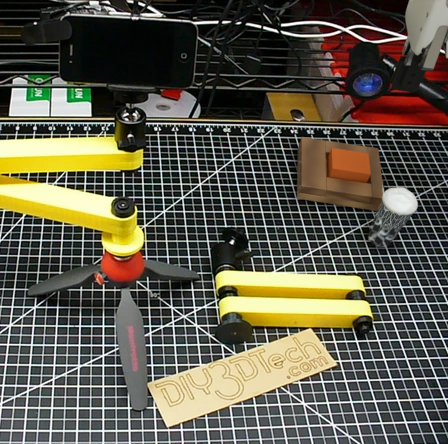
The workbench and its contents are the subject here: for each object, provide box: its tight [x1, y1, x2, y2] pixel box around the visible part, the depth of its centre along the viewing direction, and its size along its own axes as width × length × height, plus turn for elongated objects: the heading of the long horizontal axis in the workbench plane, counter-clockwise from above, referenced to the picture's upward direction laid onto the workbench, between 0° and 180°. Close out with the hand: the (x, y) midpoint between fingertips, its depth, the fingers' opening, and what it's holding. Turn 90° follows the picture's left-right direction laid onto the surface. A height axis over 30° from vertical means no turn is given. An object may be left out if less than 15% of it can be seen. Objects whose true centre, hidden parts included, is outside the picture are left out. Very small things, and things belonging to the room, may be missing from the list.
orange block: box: [326, 148, 371, 183], centre depth 88 cm, size 6×5×3 cm
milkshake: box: [367, 180, 419, 248], centre depth 79 cm, size 4×5×10 cm
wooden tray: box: [296, 136, 383, 212], centre depth 89 cm, size 12×11×3 cm
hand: (402, 87), depth 75 cm, fingers closed
